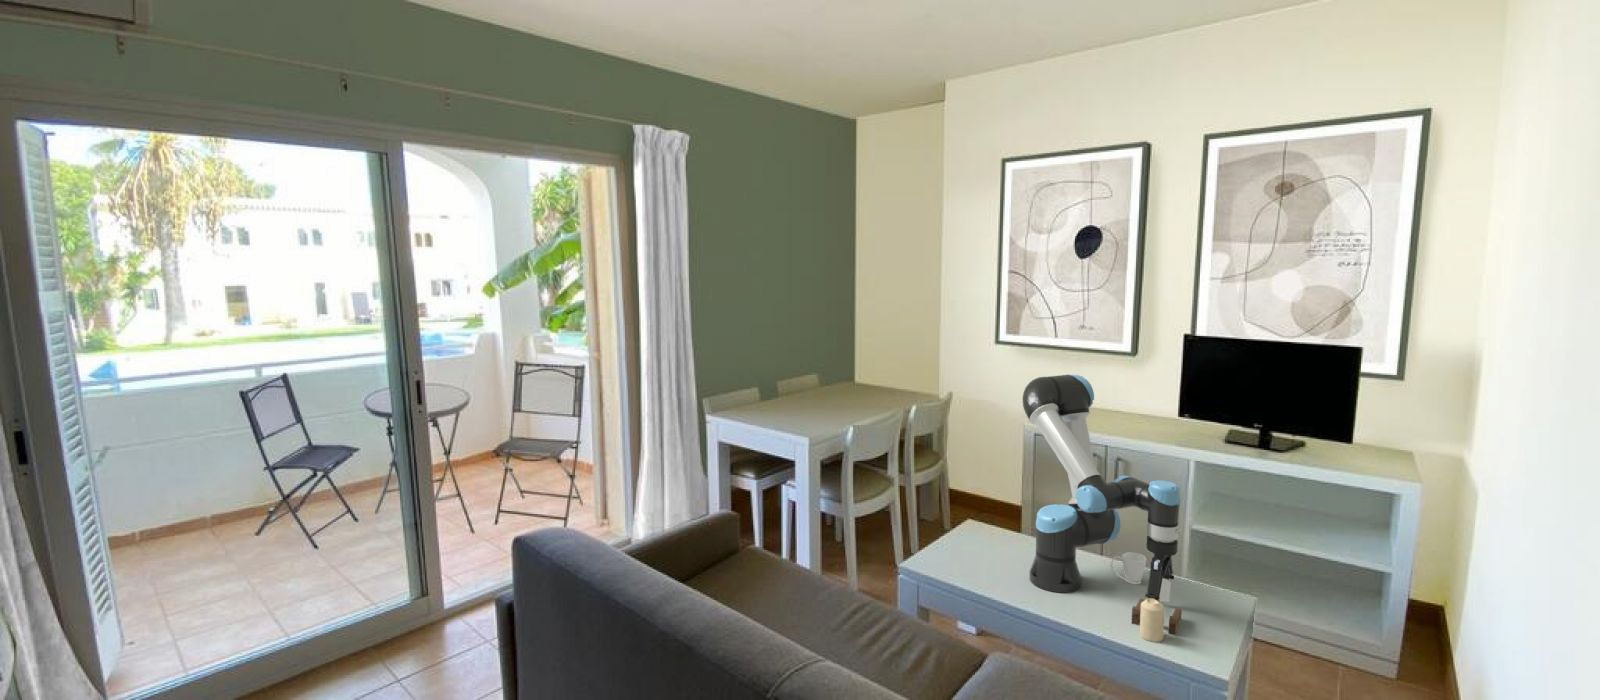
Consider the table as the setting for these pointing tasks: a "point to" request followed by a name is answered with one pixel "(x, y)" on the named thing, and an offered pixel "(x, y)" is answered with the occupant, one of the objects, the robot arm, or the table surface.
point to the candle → (1152, 620)
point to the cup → (1132, 567)
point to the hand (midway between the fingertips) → (1159, 610)
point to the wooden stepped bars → (1173, 619)
